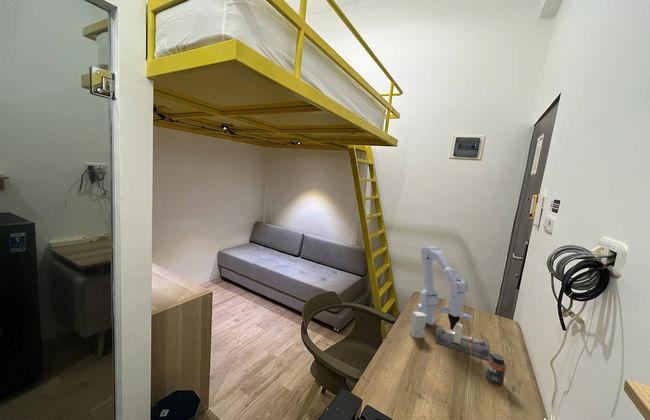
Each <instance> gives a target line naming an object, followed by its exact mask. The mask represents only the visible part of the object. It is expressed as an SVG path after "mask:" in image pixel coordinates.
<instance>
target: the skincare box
mask: <svg viewBox="0 0 650 420" xmlns="http://www.w3.org/2000/svg"><path fill="white" fill-rule="evenodd" d="M411 313H412V314H411V320H410V327H409V334H410V335H411V337H412V338H417V339H418V338H419V339H423V338H424V336H425V329H426V324H427V323H426V318H427V316H426V315H425V314H424V313H423V312H417V311H412V312H411Z"/></svg>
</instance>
